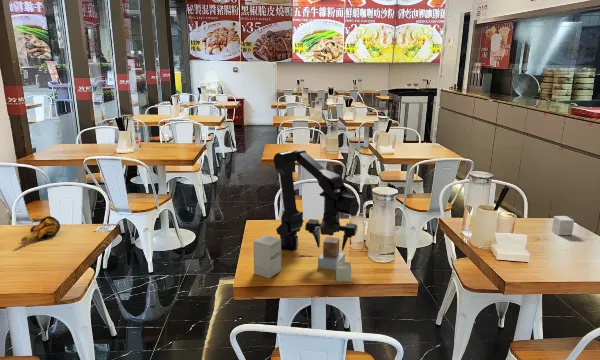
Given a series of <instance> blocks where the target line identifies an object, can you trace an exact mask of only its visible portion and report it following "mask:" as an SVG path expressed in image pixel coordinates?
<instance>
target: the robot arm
mask: <svg viewBox="0 0 600 360" xmlns="http://www.w3.org/2000/svg"><path fill="white" fill-rule="evenodd" d="M296 162H297V163H298V164H299V165H300V166H301V167H302V168H303V169H304V170H306V171H307V172H308V173H309V174H310V175H311V176H312V177H314V178H315V179H316V180H317V184H318V186H319V188H321V189H322V192H320V193H319V196H321V197H323V199H324V200H323V216H322V217H323V218H322V219H321V222H320V221H319V219H312V218H310V219H308V220H307V222H306V223H305V225H304V230H305V232H306V231H307V232H308V233H309V234H311V235H312V237H314V241H315V243H316V246H317V248H320V247H321V245H320V244H321V235H323V236H328V237H330V236H334V235H335V234H336V233H339V232H343V233H344V234H343V236H342V245H341V252H342V251H344V250H345V247H346V244H347V242H348V240H349V238H352V237H355V236H356V234H357V232H358V225H357V224H356V223H349V222H346V224H345V225H341V223H340V214H341V213H342V214H343V215H348V216H351V217H354V216H356V215H357V214H358V212H359V210H360V204H359V200H357V197H356V196H355V195H349V190H348V188H347V186H346V185H345V183H344V179H343V177H342V176H341V175H340V174H338V173H335V171H331V170H328V169H326V168H325V167H324V166H322V165H321V164H320V163H319V162H318V161H316V160H315V159H314V158H313V157H312V156H310V155H309V153H307V151H306V150H305V149H297V150H293V151H291V150H287V151H281V152H277V153H276V154H274V156H273V163H274V168H275V170H276V171H277V173H278V175H279V177H280V186H281V195H282V202H283V212H282V215H281V221H280V222H281V224H280V225H279V226H278V227H277V228H276V229H275V230H276V235H279V239H281V250H286V251H287V250H288V251H294V250H296V248H297V247H298V246H299V236H298V232H300V231H301V228H302V227H303V223H304V220H303V212H300V211H299V210H298V208H297V203H296V201H297V200H296V193H295V185H294V176H293V175H294V170H295V168H296Z"/></svg>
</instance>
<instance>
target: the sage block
mask: <svg viewBox="0 0 600 360" xmlns="http://www.w3.org/2000/svg"><path fill="white" fill-rule="evenodd" d="M335 281H336V282H352V264H351V262H350V261H349V262H346V261H345V262H336V270H335Z"/></svg>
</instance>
